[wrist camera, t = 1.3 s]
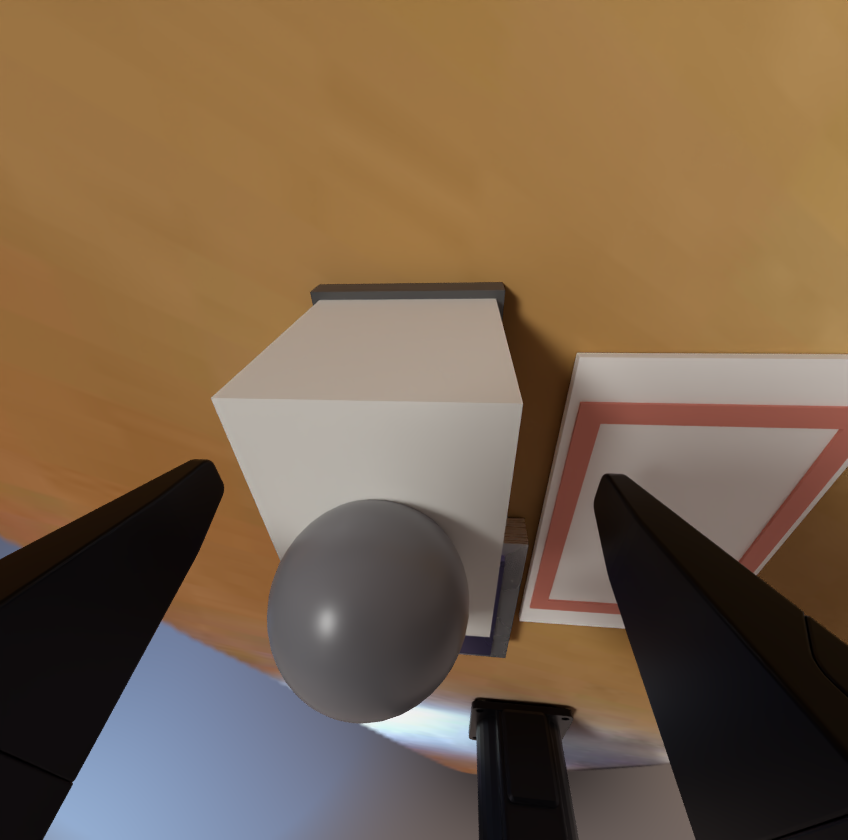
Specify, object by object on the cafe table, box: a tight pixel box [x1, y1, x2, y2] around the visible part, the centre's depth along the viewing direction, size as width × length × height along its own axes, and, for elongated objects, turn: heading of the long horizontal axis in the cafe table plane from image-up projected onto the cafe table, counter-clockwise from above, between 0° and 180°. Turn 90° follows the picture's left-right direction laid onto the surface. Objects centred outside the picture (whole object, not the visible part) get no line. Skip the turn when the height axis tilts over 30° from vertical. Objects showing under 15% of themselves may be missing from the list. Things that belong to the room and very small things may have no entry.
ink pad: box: [459, 518, 529, 658], centre depth 16 cm, size 9×8×2 cm
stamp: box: [211, 282, 523, 723], centre depth 8 cm, size 5×7×8 cm
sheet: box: [519, 353, 848, 629], centre depth 13 cm, size 14×9×1 cm, turn 2°
